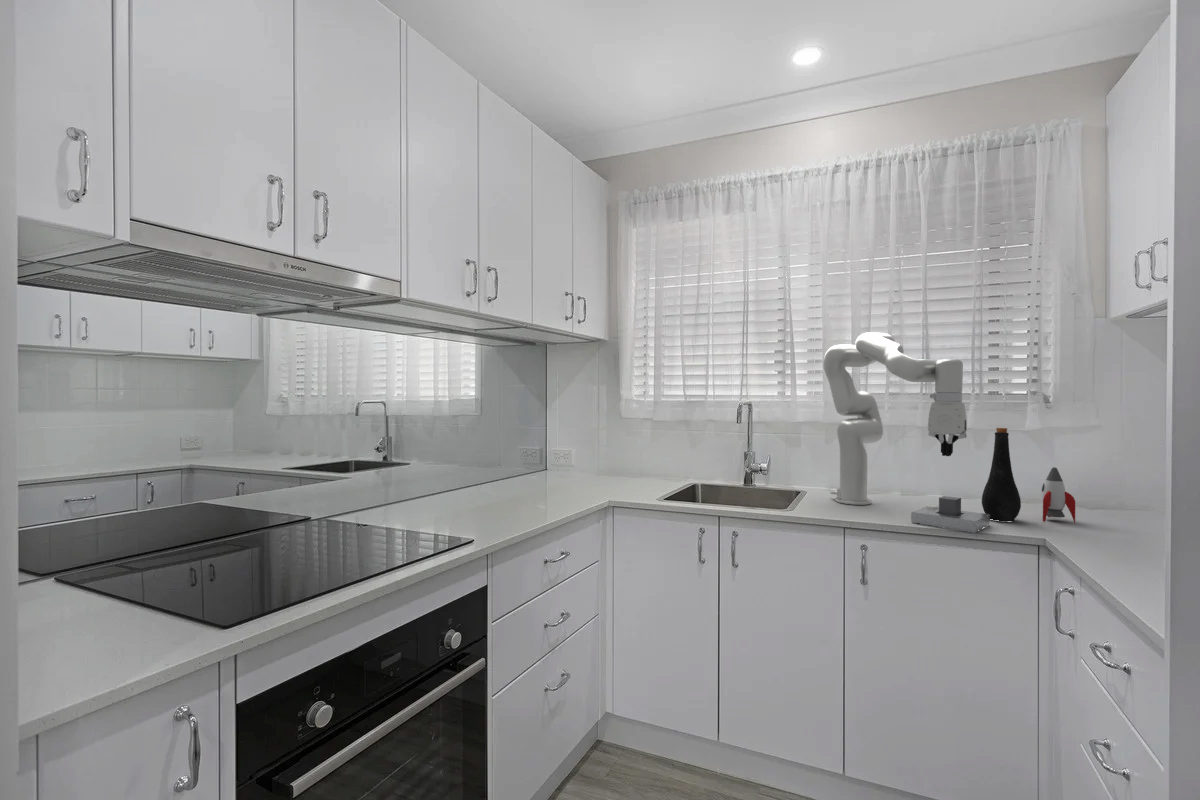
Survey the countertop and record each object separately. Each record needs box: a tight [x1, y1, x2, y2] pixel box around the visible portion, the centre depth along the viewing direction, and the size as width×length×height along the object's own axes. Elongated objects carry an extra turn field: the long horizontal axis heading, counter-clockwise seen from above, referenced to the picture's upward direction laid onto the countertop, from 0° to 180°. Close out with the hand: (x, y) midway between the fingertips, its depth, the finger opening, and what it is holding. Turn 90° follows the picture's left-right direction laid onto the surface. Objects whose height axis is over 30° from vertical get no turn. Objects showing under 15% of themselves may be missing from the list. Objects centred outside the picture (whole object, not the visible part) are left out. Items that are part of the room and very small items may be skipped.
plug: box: [938, 495, 962, 516], centre depth 187 cm, size 5×7×8 cm, turn 132°
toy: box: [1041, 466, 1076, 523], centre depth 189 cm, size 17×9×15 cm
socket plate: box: [910, 504, 991, 534], centre depth 186 cm, size 18×14×4 cm
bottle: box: [981, 427, 1022, 522], centre depth 192 cm, size 11×11×30 cm
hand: (946, 455), depth 188 cm, fingers closed
